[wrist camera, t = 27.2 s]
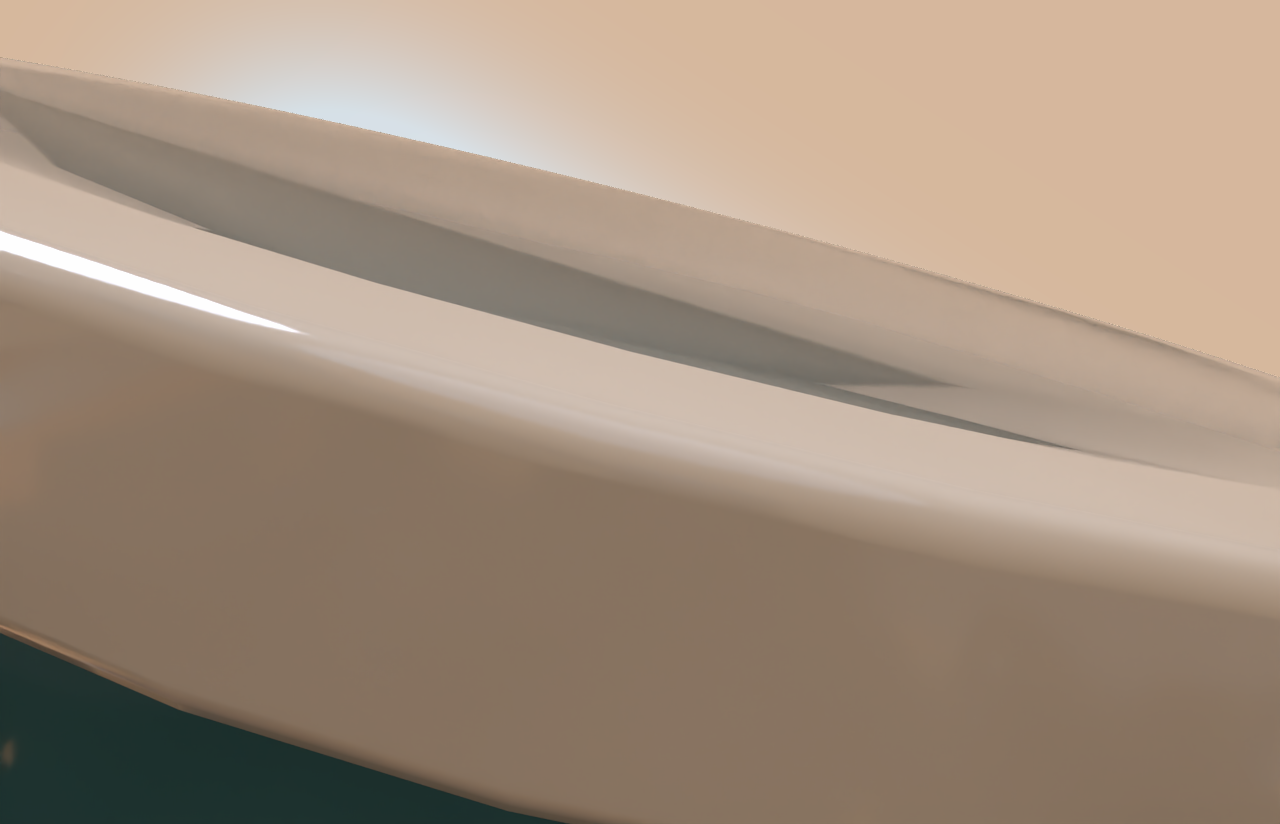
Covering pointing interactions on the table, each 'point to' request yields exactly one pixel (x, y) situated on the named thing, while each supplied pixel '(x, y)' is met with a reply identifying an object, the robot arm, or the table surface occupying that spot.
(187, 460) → the pot
